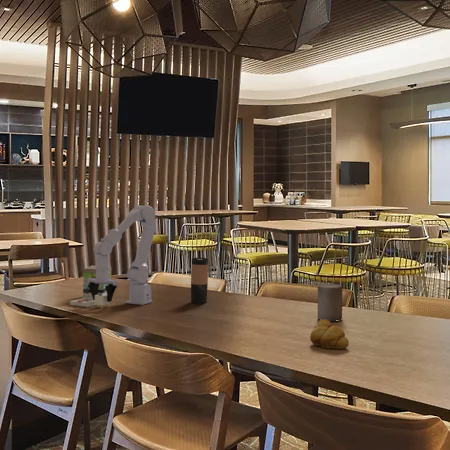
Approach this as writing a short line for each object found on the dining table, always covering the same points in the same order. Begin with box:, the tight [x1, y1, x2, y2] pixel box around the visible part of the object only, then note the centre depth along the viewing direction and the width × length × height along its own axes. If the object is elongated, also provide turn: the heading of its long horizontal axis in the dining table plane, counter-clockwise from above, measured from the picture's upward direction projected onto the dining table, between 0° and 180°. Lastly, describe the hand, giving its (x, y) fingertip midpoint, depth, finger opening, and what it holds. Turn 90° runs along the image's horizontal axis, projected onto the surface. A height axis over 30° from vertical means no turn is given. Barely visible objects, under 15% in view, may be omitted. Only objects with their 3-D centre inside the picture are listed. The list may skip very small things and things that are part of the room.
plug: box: [95, 293, 111, 309], centre depth 245 cm, size 4×5×6 cm
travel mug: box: [190, 257, 209, 304], centre depth 257 cm, size 8×8×20 cm
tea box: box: [82, 265, 112, 298], centre depth 267 cm, size 15×10×15 cm, turn 179°
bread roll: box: [309, 319, 350, 350], centre depth 182 cm, size 13×10×8 cm
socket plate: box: [69, 297, 97, 309], centre depth 250 cm, size 10×11×3 cm
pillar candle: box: [317, 282, 343, 321], centre depth 222 cm, size 10×10×15 cm
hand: (102, 300), depth 245 cm, fingers open, 7 cm apart
